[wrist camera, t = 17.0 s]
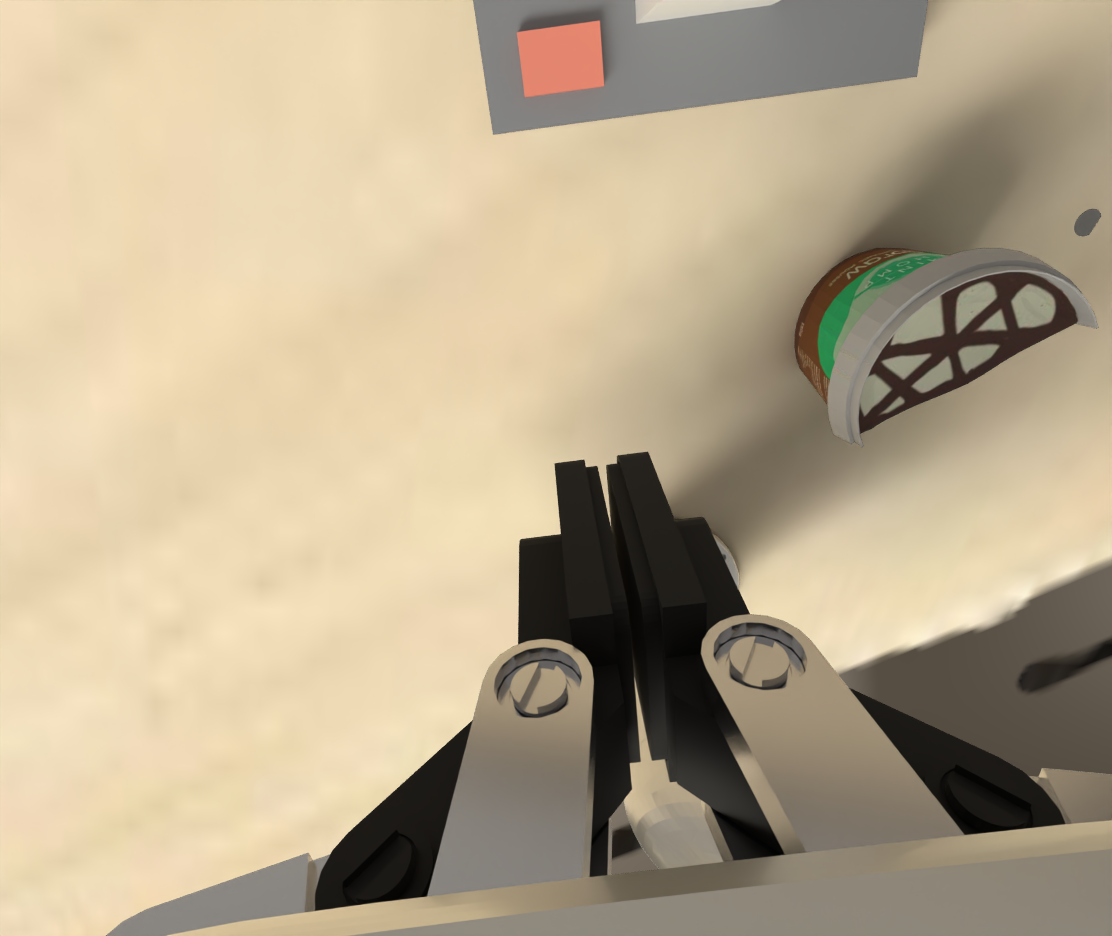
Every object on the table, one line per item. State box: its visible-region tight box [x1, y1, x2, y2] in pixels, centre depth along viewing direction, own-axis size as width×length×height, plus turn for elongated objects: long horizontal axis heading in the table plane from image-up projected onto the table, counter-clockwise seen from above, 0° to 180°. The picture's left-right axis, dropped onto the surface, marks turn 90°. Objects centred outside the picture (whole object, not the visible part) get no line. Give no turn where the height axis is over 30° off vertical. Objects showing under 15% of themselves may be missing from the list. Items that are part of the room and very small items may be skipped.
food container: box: [795, 248, 1098, 447], centre depth 32 cm, size 12×6×10 cm, turn 122°
